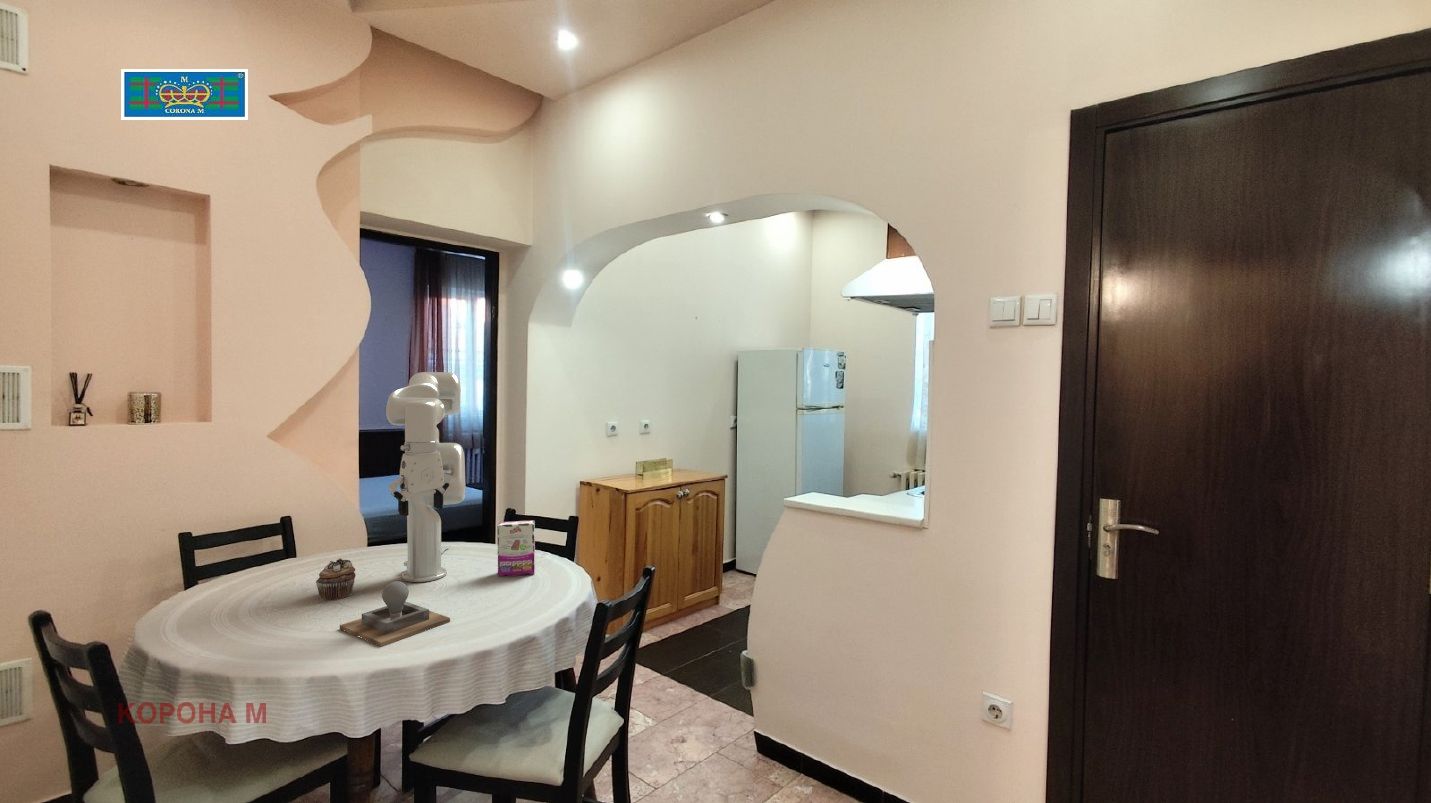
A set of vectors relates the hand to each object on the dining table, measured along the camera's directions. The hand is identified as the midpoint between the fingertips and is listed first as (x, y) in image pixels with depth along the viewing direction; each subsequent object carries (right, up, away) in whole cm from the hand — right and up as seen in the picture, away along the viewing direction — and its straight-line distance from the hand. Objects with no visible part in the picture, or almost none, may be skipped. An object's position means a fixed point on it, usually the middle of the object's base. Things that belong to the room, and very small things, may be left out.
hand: (421, 511), depth 168 cm
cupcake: (-30, -26, +12) cm, 41 cm away
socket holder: (-2, -27, -9) cm, 28 cm away
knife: (-19, -25, +48) cm, 57 cm away
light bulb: (-2, -26, -9) cm, 28 cm away
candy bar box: (+15, -26, +34) cm, 45 cm away
